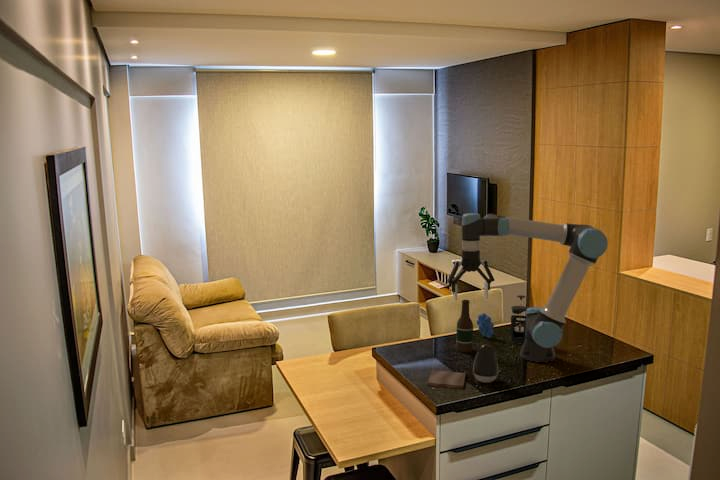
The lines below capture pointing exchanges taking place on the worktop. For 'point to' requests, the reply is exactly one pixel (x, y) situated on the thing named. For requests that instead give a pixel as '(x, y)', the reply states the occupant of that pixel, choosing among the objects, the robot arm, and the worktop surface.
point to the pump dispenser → (485, 364)
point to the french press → (517, 330)
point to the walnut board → (446, 379)
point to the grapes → (485, 325)
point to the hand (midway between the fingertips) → (470, 298)
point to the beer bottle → (464, 330)
